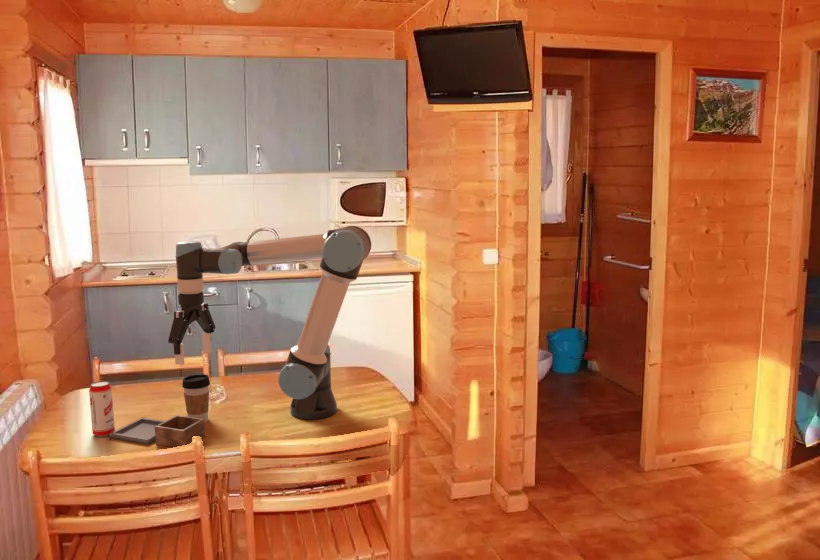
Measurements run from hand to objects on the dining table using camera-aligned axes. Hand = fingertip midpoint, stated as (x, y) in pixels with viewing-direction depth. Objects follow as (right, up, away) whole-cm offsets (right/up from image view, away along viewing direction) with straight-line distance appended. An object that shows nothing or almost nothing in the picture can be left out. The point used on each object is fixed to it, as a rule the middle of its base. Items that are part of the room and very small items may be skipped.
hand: (193, 358), depth 227 cm
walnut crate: (0, -23, -12) cm, 26 cm away
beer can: (-26, -23, -6) cm, 35 cm away
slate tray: (-13, -22, -6) cm, 27 cm away
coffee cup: (0, -21, +4) cm, 21 cm away
